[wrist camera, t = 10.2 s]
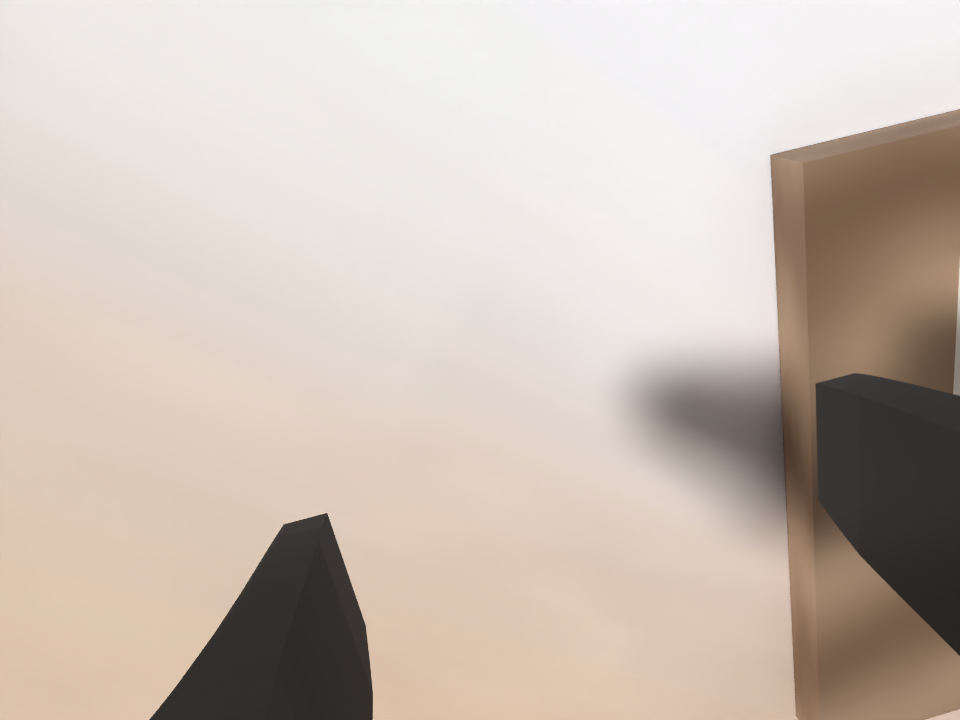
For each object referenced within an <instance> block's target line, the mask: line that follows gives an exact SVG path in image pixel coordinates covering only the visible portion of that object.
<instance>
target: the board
mask: <svg viewBox="0 0 960 720" xmlns="http://www.w3.org/2000/svg"><path fill="white" fill-rule="evenodd" d="M771 177H772V198H773V220H774V242H775V264H776V286H777V307H778V329H779V351H780V373H781V395H782V416H783V438H784V460H785V482H786V504H787V525H788V547H789V569H790V591H791V613H792V634H793V656H794V678H795V700H796V716H797V718H798V719H799V720H925V719H928V718H932V717H935V716H938V715H941V714H945V713H948V712H951V711H955V710H958V709H960V656H959V655H958V654H957V653H956V652H955V651H954V650H953V649H952V648H951V647H950V646H949V645H948V644H947V643H946V642H945V641H944V640H943V639H942V638H941V637H940V636H939V635H938V634H937V633H936V632H935V631H934V630H933V629H932V628H931V627H930V626H929V625H928V624H927V623H926V622H925V621H924V620H923V619H922V618H921V617H920V616H919V615H918V614H917V613H916V612H915V611H914V610H913V609H912V608H911V607H910V606H909V605H908V604H907V603H906V602H905V601H904V600H903V599H902V598H901V597H900V596H899V595H898V594H897V593H896V592H895V591H894V590H893V589H892V588H891V587H890V586H889V585H888V584H887V583H886V582H885V581H884V580H883V579H882V578H881V577H880V576H879V575H878V574H877V573H876V572H875V571H874V570H873V569H872V567H871V566H870V565H869V564H868V563H867V562H866V561H865V560H864V559H863V558H862V557H861V556H860V555H859V554H858V552H857V551H856V550H855V549H854V547H853V546H852V545H851V543H850V542H849V541H848V540H847V538H846V537H845V536H844V535H843V533H842V532H841V531H840V529H839V528H838V527H837V525H836V524H835V523H834V521H833V520H832V518H831V517H830V516H829V514H828V513H827V511H826V510H825V509H824V507H823V506H822V505H821V503H820V502H819V500H818V465H817V426H816V386H815V383H819V382H823V381H827V380H830V379H834V378H838V377H842V376H845V375H849V374H853V373H859V374H866V375H872V376H878V377H883V378H888V379H892V380H897V381H901V382H906V383H910V384H914V385H918V386H922V387H927V388H931V389H935V390H939V391H943V392H947V393H951V394H953V388H954V368H955V348H956V328H957V308H958V288H959V268H960V109H959V110H955V111H951V112H947V113H942V114H938V115H934V116H930V117H926V118H922V119H918V120H914V121H909V122H905V123H901V124H897V125H893V126H889V127H885V128H880V129H876V130H872V131H868V132H864V133H860V134H856V135H851V136H847V137H843V138H839V139H835V140H831V141H827V142H822V143H818V144H814V145H810V146H806V147H802V148H798V149H793V150H789V151H785V152H781V153H777V154H773V155H771Z"/></svg>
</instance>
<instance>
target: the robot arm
mask: <svg viewBox="0 0 960 720" xmlns="http://www.w3.org/2000/svg"><path fill="white" fill-rule="evenodd" d="M815 386H816V426H817V465H818V500H819V502H820V503H821V505H822V506H823V507H824V509H825V510H826V511H827V513H828V514H829V516H830V517H831V518H832V520H833V521H834V523H835V524H836V525H837V527H838V528H839V529H840V531H841V532H842V533H843V535H844V536H845V537H846V538H847V540H848V541H849V542H850V543H851V545H852V546H853V547H854V549H855V550H856V551H857V552H858V554H859V555H860V556H861V557H862V558H863V559H864V560H865V561H866V562H867V563H868V564H869V565H870V566H871V567H872V569H873V570H874V571H875V572H876V573H877V574H878V575H879V576H880V577H881V578H882V579H883V580H884V581H885V582H886V583H887V584H888V585H889V586H890V587H891V588H892V589H893V590H894V591H895V592H896V593H897V594H898V595H899V596H900V597H901V598H902V599H903V600H904V601H905V602H906V603H907V604H908V605H909V606H910V607H911V608H912V609H913V610H914V611H915V612H916V613H917V614H918V615H919V616H920V617H921V618H922V619H923V620H924V621H925V622H926V623H927V624H928V625H929V626H930V627H931V628H932V629H933V630H934V631H935V632H936V633H937V634H938V635H939V636H940V637H941V638H942V639H943V640H944V641H945V642H946V643H947V644H948V645H949V646H950V647H951V648H952V649H953V650H954V651H955V652H956V653H957V654H958V655H959V656H960V396H959V395H955V394H951V393H947V392H943V391H939V390H935V389H931V388H927V387H922V386H918V385H914V384H910V383H906V382H901V381H897V380H892V379H888V378H883V377H878V376H872V375H866V374H859V373H853V374H849V375H845V376H842V377H838V378H834V379H830V380H827V381H823V382H819V383H815ZM372 719H373V691H372V680H371V670H370V660H369V651H368V643H367V634H366V625H365V623H364V620H363V617H362V614H361V611H360V608H359V605H358V602H357V599H356V596H355V593H354V590H353V587H352V585H351V582H350V579H349V576H348V573H347V570H346V567H345V564H344V561H343V558H342V555H341V552H340V549H339V547H338V544H337V541H336V538H335V535H334V532H333V529H332V526H331V523H330V520H329V517H328V514H327V513H326V514H322V515H318V516H314V517H311V518H307V519H303V520H299V521H295V522H292V523H288V524H284V525H283V527H282V528H281V530H280V531H279V533H278V534H277V536H276V537H275V539H274V541H273V542H272V544H271V545H270V547H269V548H268V550H267V552H266V553H265V555H264V557H263V558H262V560H261V561H260V563H259V565H258V566H257V568H256V570H255V571H254V573H253V574H252V576H251V578H250V579H249V581H248V582H247V584H246V586H245V587H244V589H243V591H242V592H241V594H240V595H239V597H238V598H237V600H236V601H235V603H234V604H233V606H232V608H231V609H230V611H229V612H228V614H227V615H226V617H225V618H224V620H223V621H222V623H221V624H220V626H219V627H218V629H217V631H216V632H215V634H214V635H213V636H212V638H211V639H210V640H209V642H208V643H207V645H206V646H205V647H204V649H203V650H202V651H201V653H200V654H199V656H198V657H197V658H196V660H195V661H194V663H193V664H192V665H191V667H190V668H189V669H188V671H187V672H186V674H185V675H184V676H183V678H182V679H181V680H180V682H179V683H178V685H177V686H176V687H175V689H174V690H173V691H172V692H171V694H170V695H169V696H168V698H167V699H166V700H165V701H164V703H163V704H162V705H161V706H160V708H159V709H158V710H157V711H156V712H155V714H154V715H153V716H152V717H151V719H150V720H372Z"/></svg>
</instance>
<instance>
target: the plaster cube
mask: <svg viewBox="0 0 960 720" xmlns="http://www.w3.org/2000/svg"><path fill="white" fill-rule="evenodd" d="M953 394H955V395H959V396H960V268H959V288H958V308H957V328H956V348H955V368H954V388H953Z"/></svg>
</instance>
